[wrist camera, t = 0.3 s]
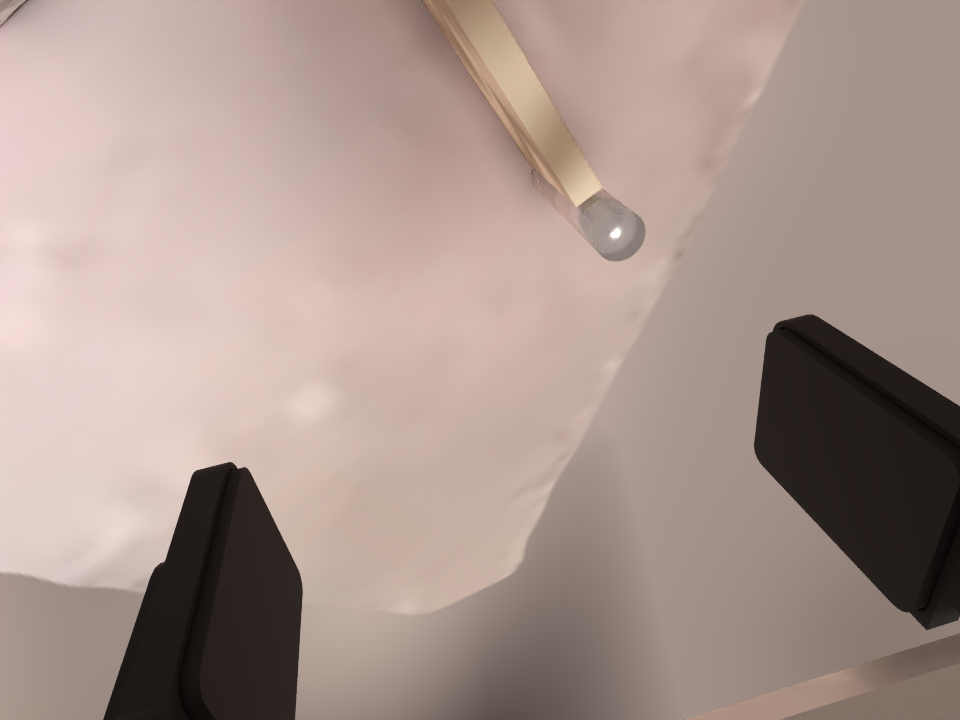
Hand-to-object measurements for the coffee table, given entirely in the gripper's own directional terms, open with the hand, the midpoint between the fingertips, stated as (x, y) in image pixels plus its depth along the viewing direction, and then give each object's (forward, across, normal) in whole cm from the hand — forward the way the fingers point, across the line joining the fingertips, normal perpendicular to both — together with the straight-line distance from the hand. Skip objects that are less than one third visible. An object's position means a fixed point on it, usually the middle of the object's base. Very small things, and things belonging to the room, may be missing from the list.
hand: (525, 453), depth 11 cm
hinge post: (+28, -9, +3) cm, 29 cm away
